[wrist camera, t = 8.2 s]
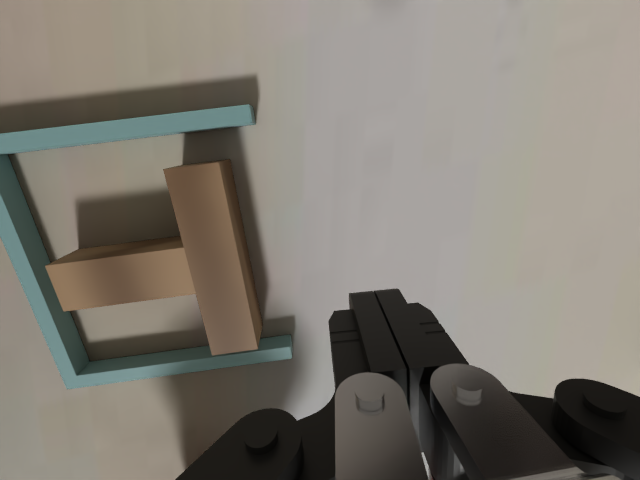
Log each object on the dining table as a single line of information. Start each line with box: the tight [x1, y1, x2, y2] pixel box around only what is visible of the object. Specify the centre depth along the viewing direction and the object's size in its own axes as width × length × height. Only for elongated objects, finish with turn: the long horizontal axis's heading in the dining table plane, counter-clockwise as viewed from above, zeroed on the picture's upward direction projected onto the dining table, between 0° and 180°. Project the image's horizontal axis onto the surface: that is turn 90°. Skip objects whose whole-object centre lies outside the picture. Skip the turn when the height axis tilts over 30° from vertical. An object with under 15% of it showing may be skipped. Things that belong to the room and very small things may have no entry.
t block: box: [45, 159, 263, 355], centre depth 21 cm, size 11×12×3 cm
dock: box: [0, 104, 292, 389], centre depth 21 cm, size 16×17×2 cm
